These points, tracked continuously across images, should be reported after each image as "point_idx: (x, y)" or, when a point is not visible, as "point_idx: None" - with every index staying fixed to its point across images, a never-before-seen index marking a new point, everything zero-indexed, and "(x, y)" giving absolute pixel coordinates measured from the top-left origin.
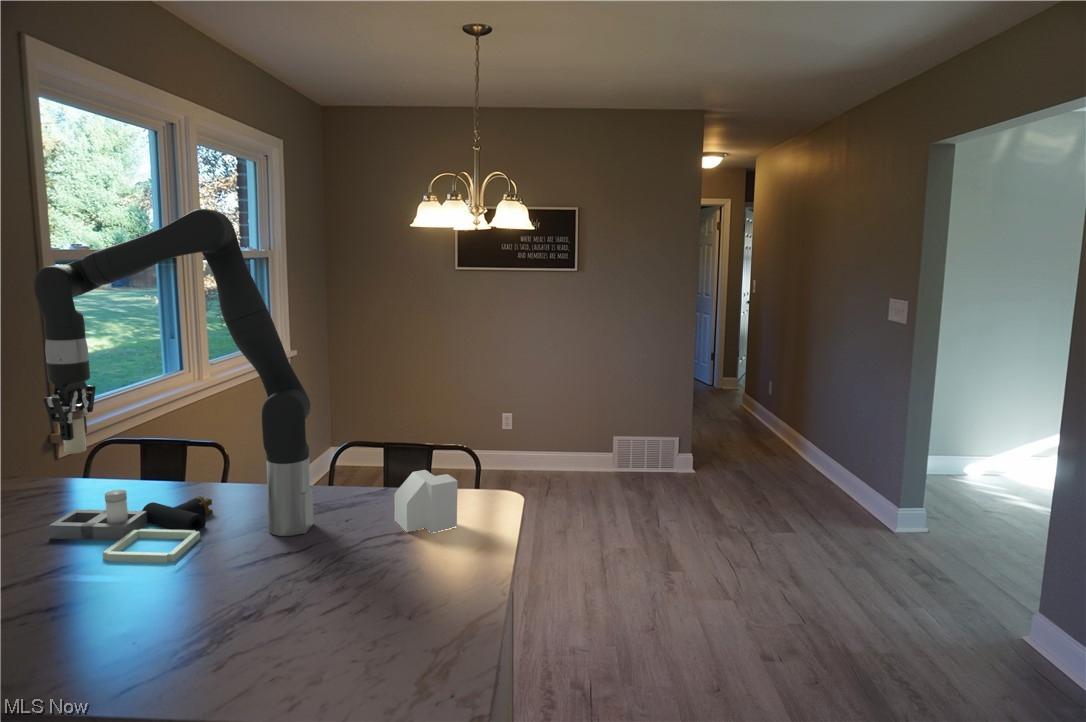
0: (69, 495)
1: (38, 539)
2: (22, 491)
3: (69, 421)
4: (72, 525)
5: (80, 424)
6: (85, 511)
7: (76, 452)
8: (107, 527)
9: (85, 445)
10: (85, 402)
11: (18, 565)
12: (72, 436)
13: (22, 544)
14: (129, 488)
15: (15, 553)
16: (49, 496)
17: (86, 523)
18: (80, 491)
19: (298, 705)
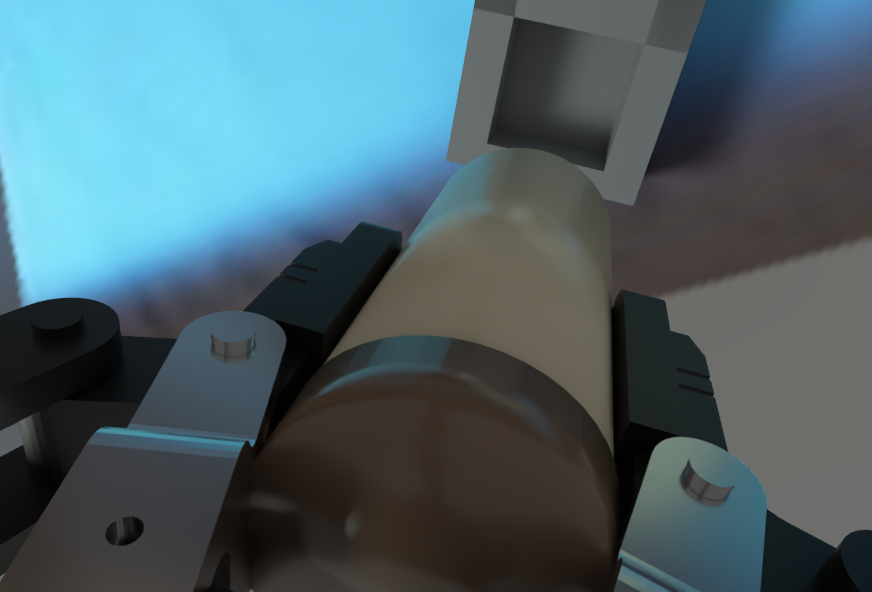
0: (168, 271)
1: None
2: None
3: (731, 474)
4: (666, 98)
5: (539, 304)
6: (480, 106)
7: (605, 204)
8: None
9: (510, 163)
10: (118, 524)
11: (848, 214)
12: (644, 305)
13: (619, 269)
14: (66, 76)
15: (707, 264)
16: (185, 326)
17: (654, 37)
18: (128, 248)
19: None
